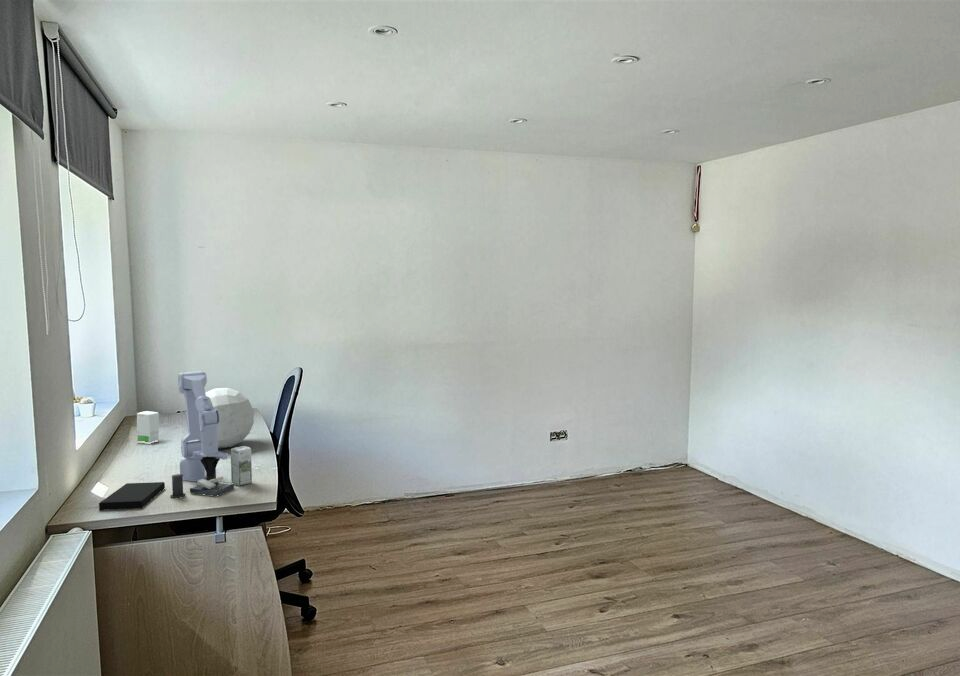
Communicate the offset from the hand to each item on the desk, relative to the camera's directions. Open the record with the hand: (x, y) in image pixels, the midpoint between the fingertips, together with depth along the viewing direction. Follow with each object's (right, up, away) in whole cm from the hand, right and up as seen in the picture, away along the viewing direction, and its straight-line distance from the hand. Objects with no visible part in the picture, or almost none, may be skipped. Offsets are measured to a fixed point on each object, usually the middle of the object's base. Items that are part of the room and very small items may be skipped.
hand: (210, 476), depth 250 cm
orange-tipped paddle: (+1, -2, +2) cm, 3 cm away
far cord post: (-4, -5, +11) cm, 13 cm away
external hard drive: (-25, -7, -8) cm, 27 cm away
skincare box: (-65, 0, +80) cm, 102 cm away
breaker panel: (0, -6, 0) cm, 6 cm away
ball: (-23, -1, +71) cm, 74 cm away
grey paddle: (-1, -3, -2) cm, 3 cm away
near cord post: (-10, -6, -6) cm, 13 cm away
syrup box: (+8, -5, +10) cm, 14 cm away
